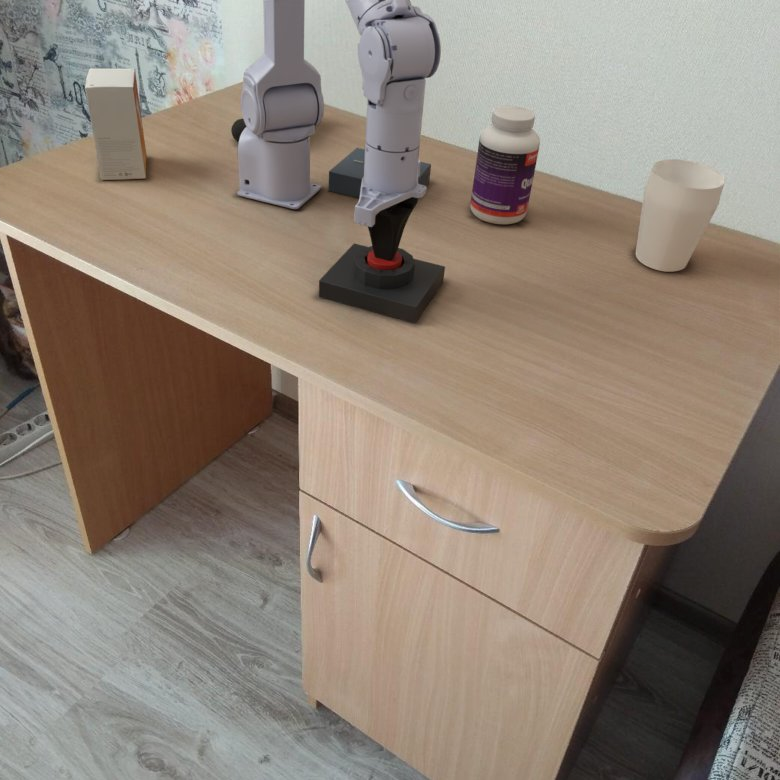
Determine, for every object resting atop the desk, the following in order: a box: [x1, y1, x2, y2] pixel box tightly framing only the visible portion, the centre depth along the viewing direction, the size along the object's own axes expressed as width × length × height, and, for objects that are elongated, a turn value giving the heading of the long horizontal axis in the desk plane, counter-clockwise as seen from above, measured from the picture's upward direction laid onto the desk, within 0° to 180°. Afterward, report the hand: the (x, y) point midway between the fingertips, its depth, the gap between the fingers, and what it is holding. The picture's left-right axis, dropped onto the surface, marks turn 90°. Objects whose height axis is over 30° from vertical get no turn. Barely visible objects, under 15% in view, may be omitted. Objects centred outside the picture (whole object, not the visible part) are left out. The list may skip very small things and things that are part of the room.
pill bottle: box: [469, 105, 541, 225], centre depth 105 cm, size 8×8×14 cm
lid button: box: [367, 250, 402, 270], centre depth 90 cm, size 4×4×2 cm
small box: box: [84, 67, 147, 181], centre depth 109 cm, size 8×6×13 cm
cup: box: [635, 158, 726, 273], centre depth 99 cm, size 9×9×12 cm
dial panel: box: [328, 147, 432, 199], centre depth 113 cm, size 12×10×3 cm
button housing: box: [318, 242, 446, 324], centre depth 91 cm, size 12×10×4 cm
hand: (384, 256), depth 90 cm, fingers closed, pressing on lid button
